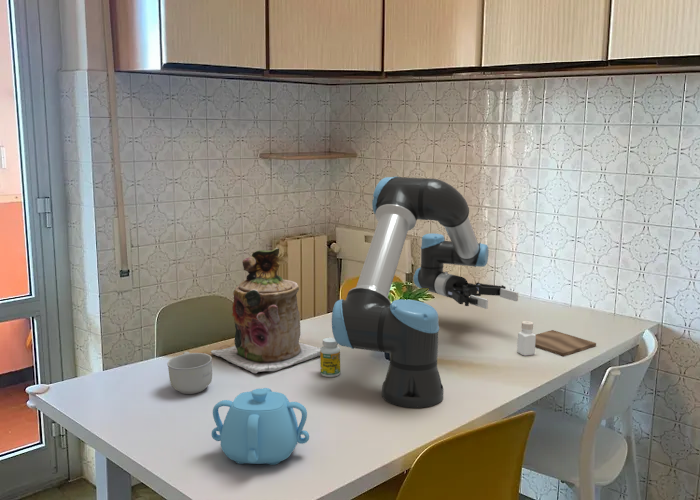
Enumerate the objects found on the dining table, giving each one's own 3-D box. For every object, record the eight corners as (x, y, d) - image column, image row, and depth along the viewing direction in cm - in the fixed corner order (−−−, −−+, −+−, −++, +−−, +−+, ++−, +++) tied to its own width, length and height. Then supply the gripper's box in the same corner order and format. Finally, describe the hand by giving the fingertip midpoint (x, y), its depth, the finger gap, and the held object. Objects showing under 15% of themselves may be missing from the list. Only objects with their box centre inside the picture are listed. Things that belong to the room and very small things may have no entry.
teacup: (212, 396, 167) (211, 365, 166) (166, 399, 166) (165, 368, 164) (213, 376, 181) (212, 347, 179) (171, 378, 179) (170, 349, 178)
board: (563, 356, 198) (563, 353, 198) (519, 342, 210) (519, 338, 210) (596, 346, 207) (596, 342, 207) (552, 332, 220) (552, 329, 220)
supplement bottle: (340, 370, 186) (340, 336, 184) (340, 377, 180) (340, 342, 179) (320, 370, 185) (320, 336, 184) (320, 377, 180) (320, 342, 178)
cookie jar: (274, 337, 214) (273, 236, 208) (328, 356, 197) (328, 247, 191) (207, 355, 197) (203, 246, 191) (259, 378, 180) (257, 259, 174)
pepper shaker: (523, 356, 198) (525, 325, 196) (516, 352, 201) (517, 321, 200) (535, 355, 199) (537, 323, 197) (527, 350, 203) (529, 320, 201)
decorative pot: (276, 429, 150) (275, 370, 148) (315, 458, 137) (315, 394, 135) (207, 449, 141) (205, 386, 139) (242, 482, 128) (240, 413, 126)
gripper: (424, 280, 214) (474, 294, 197) (479, 269, 228) (529, 282, 212) (423, 303, 215) (473, 319, 199) (478, 291, 230) (528, 305, 213)
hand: (502, 300), depth 205 cm, fingers open, 13 cm apart
